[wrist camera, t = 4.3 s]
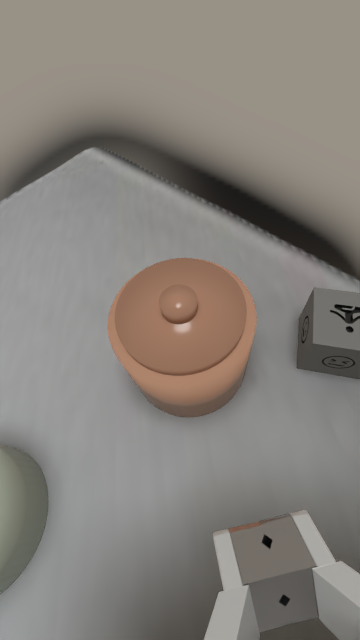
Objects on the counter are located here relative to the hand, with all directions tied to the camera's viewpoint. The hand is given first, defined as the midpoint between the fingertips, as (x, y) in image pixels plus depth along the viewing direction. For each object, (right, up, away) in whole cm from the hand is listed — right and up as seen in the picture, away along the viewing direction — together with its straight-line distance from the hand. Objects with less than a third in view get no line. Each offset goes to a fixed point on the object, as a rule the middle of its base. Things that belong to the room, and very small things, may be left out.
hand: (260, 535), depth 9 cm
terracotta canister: (-2, +3, +18) cm, 18 cm away
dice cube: (+10, +4, +17) cm, 21 cm away
